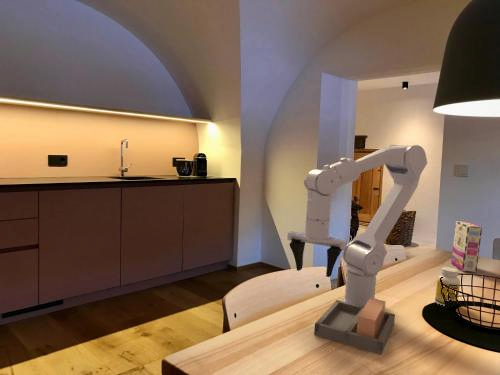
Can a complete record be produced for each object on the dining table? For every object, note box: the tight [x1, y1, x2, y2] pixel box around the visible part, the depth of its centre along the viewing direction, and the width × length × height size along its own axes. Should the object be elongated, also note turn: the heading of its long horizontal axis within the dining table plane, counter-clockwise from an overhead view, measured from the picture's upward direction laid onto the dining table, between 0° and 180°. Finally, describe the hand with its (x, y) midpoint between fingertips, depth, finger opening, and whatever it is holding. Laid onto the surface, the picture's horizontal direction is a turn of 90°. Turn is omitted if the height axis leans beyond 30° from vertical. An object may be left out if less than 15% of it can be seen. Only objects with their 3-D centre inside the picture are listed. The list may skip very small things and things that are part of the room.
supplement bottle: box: [434, 266, 461, 307], centre depth 104 cm, size 5×5×10 cm
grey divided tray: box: [313, 299, 396, 356], centre depth 86 cm, size 16×14×2 cm
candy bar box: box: [450, 220, 483, 273], centre depth 139 cm, size 11×5×16 cm, turn 172°
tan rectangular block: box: [357, 298, 387, 339], centre depth 84 cm, size 12×4×5 cm, turn 151°
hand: (313, 272), depth 95 cm, fingers open, 7 cm apart
